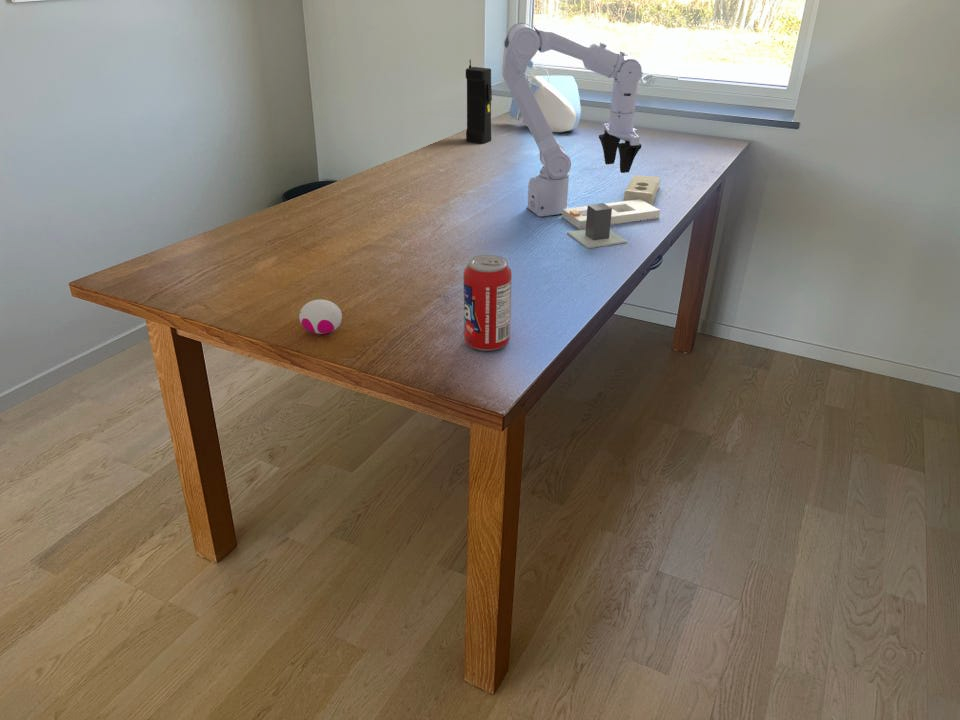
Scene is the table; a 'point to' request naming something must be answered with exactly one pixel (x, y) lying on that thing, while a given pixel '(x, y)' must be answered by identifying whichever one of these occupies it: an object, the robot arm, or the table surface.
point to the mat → (590, 243)
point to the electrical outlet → (642, 188)
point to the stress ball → (320, 316)
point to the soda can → (487, 302)
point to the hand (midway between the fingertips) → (616, 168)
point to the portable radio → (478, 104)
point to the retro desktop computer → (554, 101)
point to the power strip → (614, 213)
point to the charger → (598, 221)
